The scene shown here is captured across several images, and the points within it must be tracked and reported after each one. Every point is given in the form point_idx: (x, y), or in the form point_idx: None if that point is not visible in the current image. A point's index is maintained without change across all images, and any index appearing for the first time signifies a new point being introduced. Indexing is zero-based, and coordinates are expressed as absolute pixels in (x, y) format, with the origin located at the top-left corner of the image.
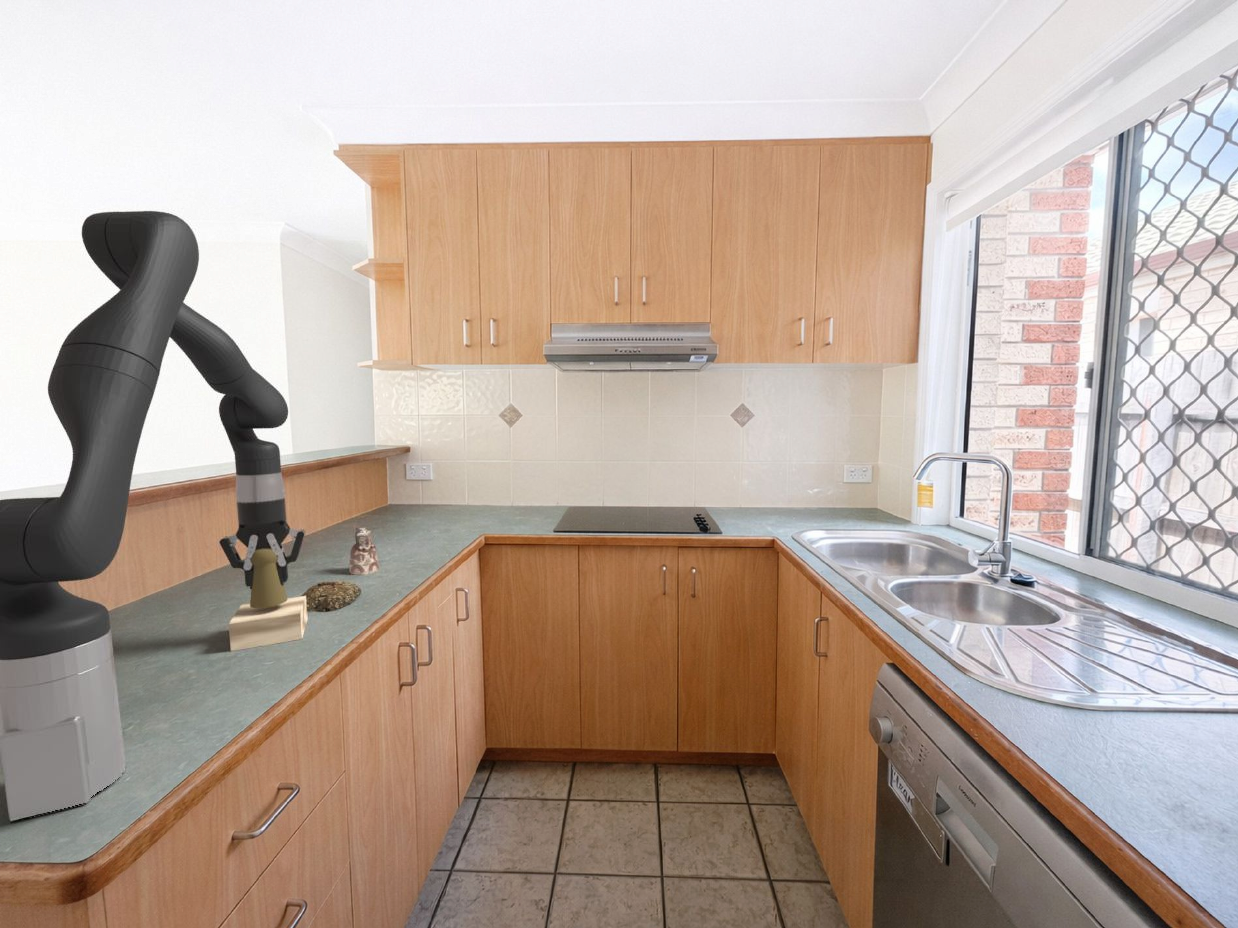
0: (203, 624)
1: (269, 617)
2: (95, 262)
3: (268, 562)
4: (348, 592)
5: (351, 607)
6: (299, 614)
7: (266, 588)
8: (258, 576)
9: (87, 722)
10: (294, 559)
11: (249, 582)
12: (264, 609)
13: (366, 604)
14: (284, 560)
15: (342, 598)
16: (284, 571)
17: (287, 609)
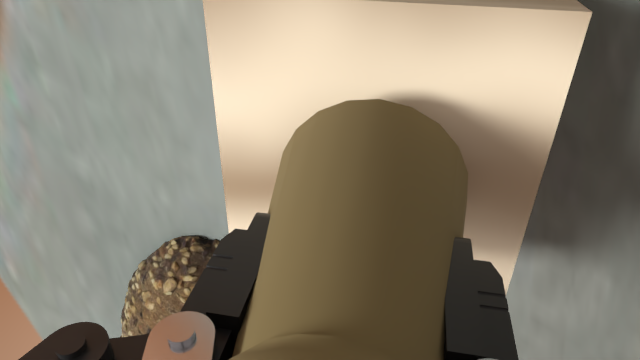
0: (617, 346)
1: (363, 11)
2: None
3: (279, 347)
4: (132, 306)
5: (133, 231)
6: None
7: (356, 172)
8: (401, 265)
9: None
10: (66, 340)
11: (474, 270)
12: None
13: (88, 232)
14: (150, 356)
15: (148, 275)
16: (211, 284)
17: (283, 109)
